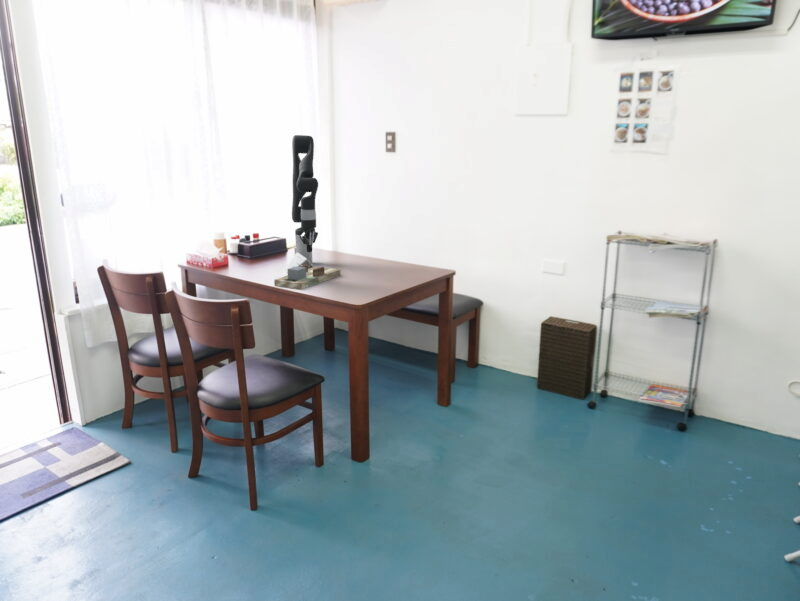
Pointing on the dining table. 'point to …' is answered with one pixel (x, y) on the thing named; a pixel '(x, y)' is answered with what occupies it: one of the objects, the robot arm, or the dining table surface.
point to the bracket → (299, 261)
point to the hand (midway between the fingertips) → (309, 252)
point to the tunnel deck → (308, 277)
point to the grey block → (297, 273)
